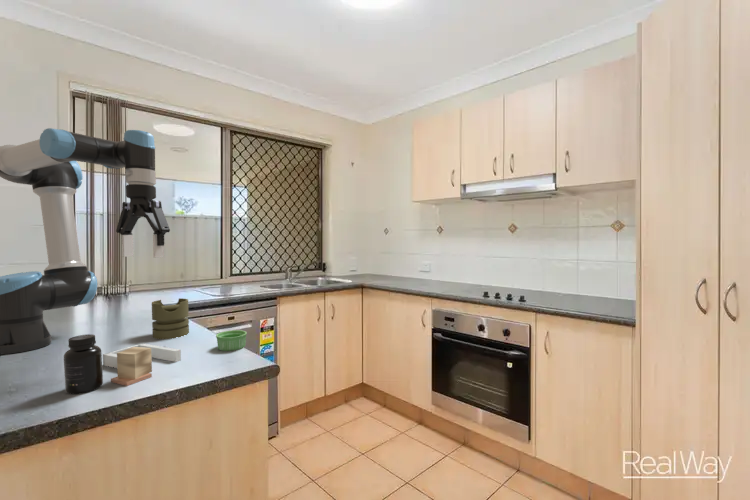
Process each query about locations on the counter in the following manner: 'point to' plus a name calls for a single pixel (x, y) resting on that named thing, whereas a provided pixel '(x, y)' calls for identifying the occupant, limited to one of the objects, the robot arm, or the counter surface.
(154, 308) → the piston
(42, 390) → the counter surface
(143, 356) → the block
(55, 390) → the counter surface
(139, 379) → the tile
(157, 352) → the channel
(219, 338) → the ramekin
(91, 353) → the supplement bottle
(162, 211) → the robot arm
